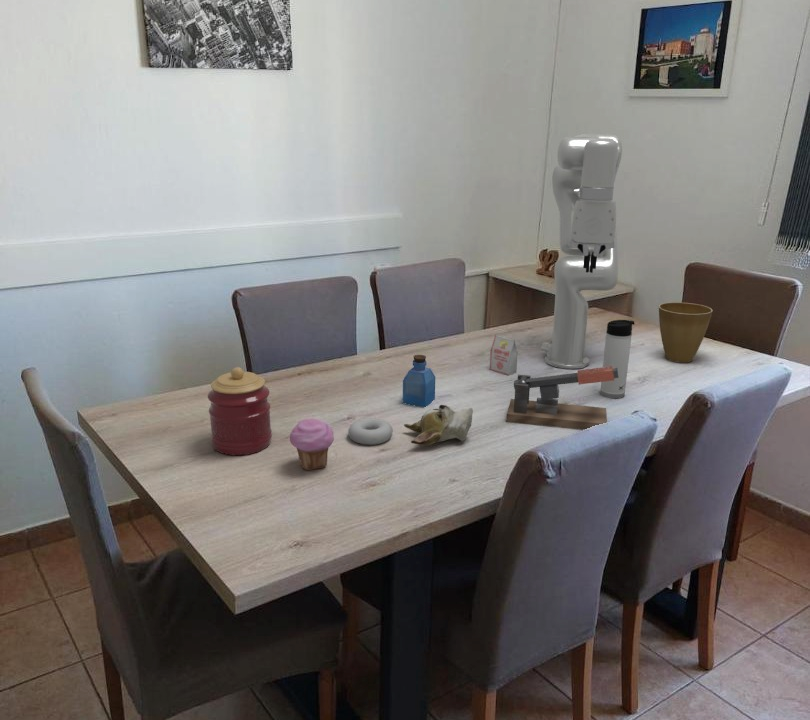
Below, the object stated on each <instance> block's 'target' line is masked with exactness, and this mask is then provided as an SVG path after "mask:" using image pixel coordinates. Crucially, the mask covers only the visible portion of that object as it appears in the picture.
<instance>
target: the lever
mask: <svg viewBox="0 0 810 720" xmlns="http://www.w3.org/2000/svg"><path fill="white" fill-rule="evenodd" d="M614 378H619V377H618V369H617V368H613V366H610V367H603V366H602V367H595V368H587V369H578V370H577V372H574V373H573V372H572V373H563V374H556V375H549V376H548V375H546V376H539V377H532V378H529V379H528V378H527V377H525V376H522V377H520V378H519V380H518V379H514V381H513V388H514V390H515V384H516V383H517V384H527V385H528V388H530V389H534V388H539V392H540V393H539V394H540V398H541V399H542V400H546V399H558V398H560V388H559V386H560V385H567V384H568V385H569V384H576V383H578V385H587V384H596V383H601V382H605V381H614Z"/></svg>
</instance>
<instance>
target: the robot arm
mask: <svg viewBox="0 0 810 720" xmlns="http://www.w3.org/2000/svg"><path fill="white" fill-rule="evenodd" d="M558 144H559V145H558V147H557V163H558V164H557V165H555V167H554V168H553V170H552V175H551V176H552V177H551V184H552V191H553V192H552V193H553V195H554V199H555V202H556V205H557V207H558V212H559V246H560V250H561V252H562V253H563V254H565V255H566V256H563V257H560V258H558V259H557V261H556V262H555V264H554V269H553V273H554V288H555V289H554V293H555V294H554V310H553V311H554V313H553V325H552V335H551V336H552V337H551V343H549V342H546V341H545V342H542V344H541V345H542V346H541V347H540V350H541V351H545V352H547V354H546V355H545V357H544V361H545V363H546V364H548V365H550V366H553V367H556V368H560V369H567V370H568V369H569V370H570V369H571V370H572V369H573V370H575V369H582V368H585V367H587V366H588V365H589V363H590V360H589V358H588V357H586V356H585V348H586V347H585V346H586V336H587V327H588V326H587V325H588V315H589V303H588V301H587V300H586V298H585V296H584V295H583V294H582V293H581V291H599V292H601V291H603V292H605V291H611V290H613V289H615V287H616V285H617V283H618V277H619V267H618V266H619V263H618V237H617V231H616V227H617V226H616V224H617V204H616V201H615V200H613V197H614V189H615V187H614V186H615V182H616V181H615V180H616V177H617V173H618V171H619V168H620V163H621V160H622V154H623V144H622V140H621V138H620V137H619V136H618V135H616V134H613V133H581V134H577V135H576V136H566V137H562V138H561V140H560V142H559V143H558ZM567 255H568V256H567Z"/></svg>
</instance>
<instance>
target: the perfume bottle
mask: <svg viewBox="0 0 810 720" xmlns="http://www.w3.org/2000/svg"><path fill="white" fill-rule="evenodd" d="M426 358H427V356H426V355H424V354H416V355H413V360H412V366H413V367H412V368H411V369H409V370H408V371H407V373H406V374H405V377H404V378H403V379H402V404H403V403H406V404H405V405H408V404H410V405H409V406H413V405H415V407H418V406H420V408H424V407H426V406H427V407H428V406H430V404H432V403H433V402H434V401H435V400H436V375H435V373H434V372H433V371H432V369H431V368H430V367H426V366H427V360H426ZM433 400H434V401H433ZM432 401H433V402H432ZM427 407H426V408H427Z"/></svg>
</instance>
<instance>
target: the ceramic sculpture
mask: <svg viewBox="0 0 810 720" xmlns="http://www.w3.org/2000/svg"><path fill="white" fill-rule="evenodd" d="M473 412H474V410H473V408H472V407H470V408H463V409H461V410H457V411H454V410H453V409H452V408H451V407H450V406H448V405H445V404H440V405H439V406H438V408H432V409H429V410H426V411H425V412H424V413H423V414H422V416H421V418H420V420H418V421H416V422H414V423H412V424H408V423H405V424H403V426H404V427H405V428H406V429H409V430H410V431H413V432H415V433H420V434H418V435H417V436H416V438H415V439H412V440H411V441H410V443H411V444H413V445H418V446H427V447H428V446H430V445H434V444H435V443H439V442H444V441H447V440H452V439H457V440H460V441H461V442H464V441H465V440H466V439H467V435H468V432H469V430H470V429H471V427H472V423H473V422H472V420H473Z"/></svg>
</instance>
